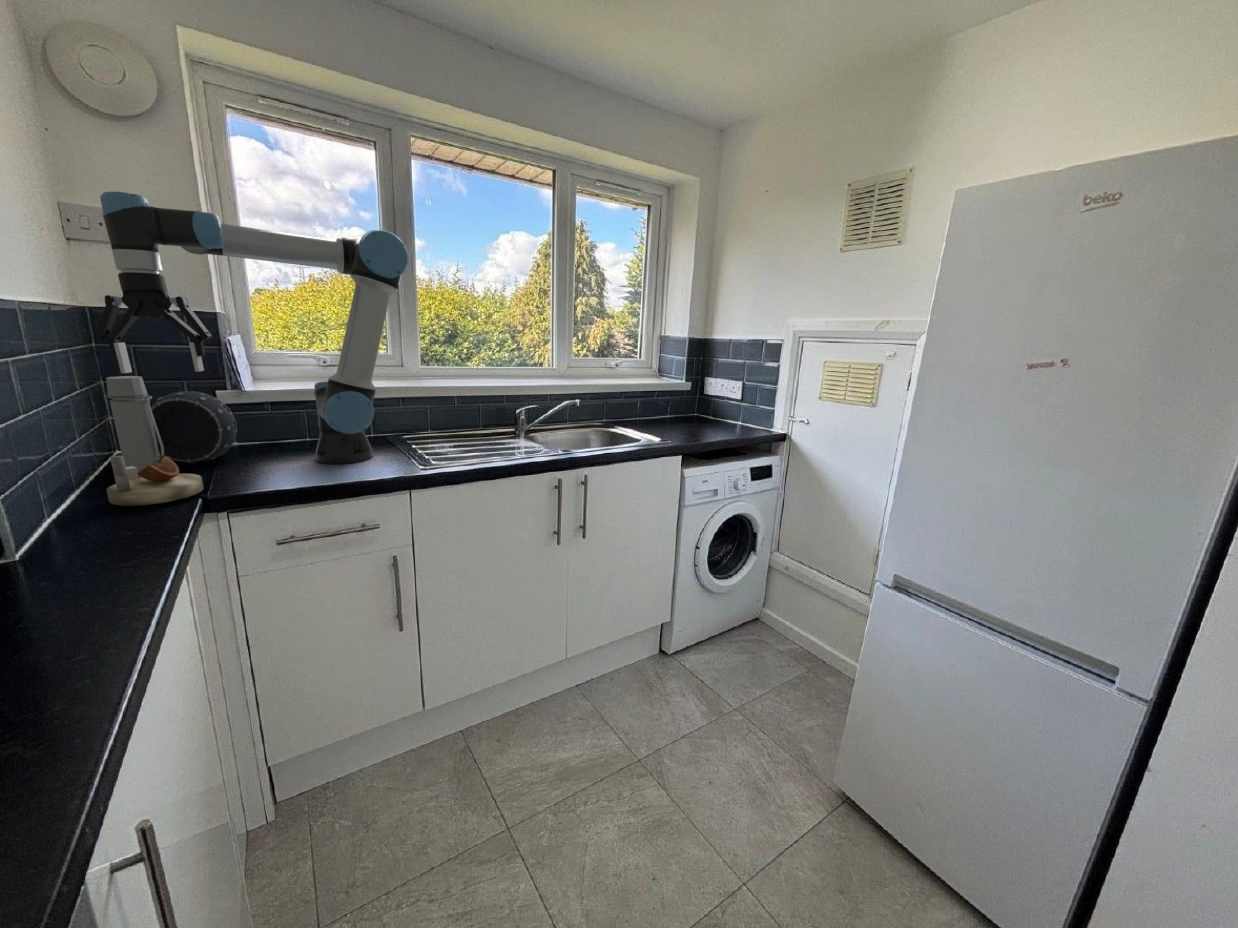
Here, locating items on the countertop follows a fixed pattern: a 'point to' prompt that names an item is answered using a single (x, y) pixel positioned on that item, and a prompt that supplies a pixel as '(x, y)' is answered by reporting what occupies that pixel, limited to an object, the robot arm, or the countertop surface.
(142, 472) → the fruit slice
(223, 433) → the grey dotted bowl
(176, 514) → the countertop surface
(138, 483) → the beige round piece
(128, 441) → the water bottle
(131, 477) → the grey rectangular block
